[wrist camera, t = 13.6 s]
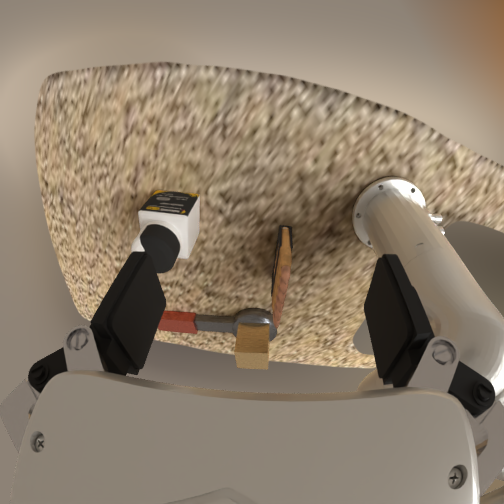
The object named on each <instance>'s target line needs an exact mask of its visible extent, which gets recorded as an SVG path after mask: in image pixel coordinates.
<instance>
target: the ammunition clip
mask: <svg viewBox="0 0 504 504" xmlns="http://www.w3.org/2000/svg"><path fill="white" fill-rule="evenodd" d="M292 248H293V245H292V227H290V226H281V225H280V226H279V233H278V240H277V247H276V254H275V260H274V267H273V273H272V290H271V296H272V309H273V322H274V326H275V328H278V326H279V324H280V319H281V315H282V310H283V306H284V301H285V297H286V291H287V288H288V282H289V279H290V269H291V262H292V255H291V253H292Z"/></svg>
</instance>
